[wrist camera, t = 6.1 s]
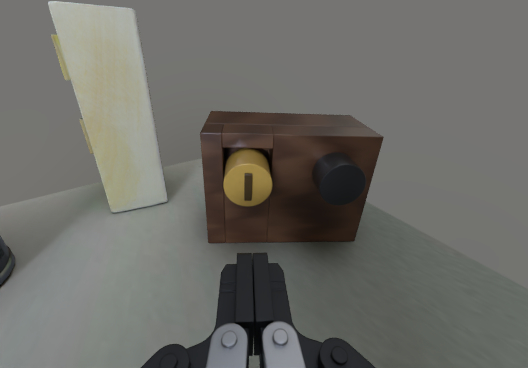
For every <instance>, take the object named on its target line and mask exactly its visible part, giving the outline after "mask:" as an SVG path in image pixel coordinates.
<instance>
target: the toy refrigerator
mask: <svg viewBox="0 0 528 368" xmlns="http://www.w3.org/2000/svg"><path fill="white" fill-rule="evenodd" d="M48 5H49V9H50V12H51V16H52V19H53V22H54V25H55V28H56V32H57V35H51V37H52V40H53V44H54V47H55V50H56V52H57V56H58V59H59V62H60V65H61V69H62V72H63V75H64V78H65V80H71V82H72V85H73V88H74V91H75V95H76V98H77V101H78V104H79V107H80V111H81V114H82V117H83V118H80V123H81V126H82V129H83V132H84V136H85V139H86V142H87V145H88V148H89V151H90V153H91V154H94V156H95V159H96V163H97V166H98V169H99V172H100V176H101V179H102V183H103V186H104V189H105V193H106V196H107V199H108V203H109V206H110V209H111V212H112V213H115V212H122V211H127V210H132V209H136V208H141V207H146V206H150V205H155V204H159V203H164V202H167V201H168V197H167V191H166V185H165V180H164V174H163V168H162V162H161V156H160V151H159V144H158V139H157V132H156V126H155V120H154V115H153V109H152V103H151V97H150V92H149V86H148V79H147V73H146V69H145V62H144V57H143V51H142V45H141V39H140V33H139V28H138V21H137V15H136V12H135V10H134V9H130V8H121V7H111V6H100V5H89V4H80V3H70V2H69V3H68V2H58V1H49V2H48Z"/></svg>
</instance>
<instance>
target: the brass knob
mask: <svg viewBox="0 0 528 368" xmlns="http://www.w3.org/2000/svg"><path fill="white" fill-rule="evenodd" d="M223 188H224V192H225V194H226V196H227V197H228V198H229V199H230V200H231V201H232V202H234V203H236V204H238V205H241V206H254V205H258V204H260V203H262V202H263V201H265V200H266V199H267V197H268V196H269V195H270V193H271V190H272V178H271V173H270V169H269V164H268V161H267V159H266V157H265V156H264V155H263V154H262V153H261V152H260V151H258V150H255V149H252V148H243V149H239V150H237V151H235V152H234V153H232V154H231V155H230V157H229V158H228V160H227V163H226V168H225V175H224V182H223Z"/></svg>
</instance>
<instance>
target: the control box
mask: <svg viewBox="0 0 528 368" xmlns="http://www.w3.org/2000/svg"><path fill="white" fill-rule="evenodd" d="M200 137H201V151H202V164H203V177H204V190H205V204H206V217H207V230H208V242H209V243H225V242H226V243H240V242H321V241H354V240H355V237H356V233H357V230H358V226H359V223H360V219H361V216H362V212H363V208H364V205H365V201H366V198H367V194H368V190H369V187H370V183H371V180H372V176H373V173H374V169H375V166H376V162H377V158H378V155H379V152H380V148H381V144H382V141H383V136H381V135H380V134H378V133H376V132H375V131H373V130H372V129H370V128H369V127H367V126H366V125H364V124H362V123H361V122H359V121H358V120H356V119H355V118H353V117H352V116H350V115H321V114H320V115H319V114H288V113H255V112H223V111H211V112H210V114H209V116H208V119H207V121H206V122H205V124H204V127H203V128H202V131H201V132H200ZM243 148H252V149H255V150H258V151H260V152H261V153H262V154H263V155H264V156H265V157H266V159H267V161H268V164H269V169H270V173H271V178H272V190H271V193H270V195H269V196H268V197H267V199H266V200H265V201H263V202H262V203H260V204H258V205H254V206H241V205H238V204H236V203H234V202H232V201H231V200H230V199H229V198H228V197H227V196H226V194H225V192H224V188H223V182H224V175H225V168H226V163H227V160H228V158H229V157H230V155H231V154H232V153H234V152H235V151H237V150H239V149H243Z"/></svg>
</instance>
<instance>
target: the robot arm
mask: <svg viewBox="0 0 528 368" xmlns="http://www.w3.org/2000/svg"><path fill="white" fill-rule="evenodd" d="M14 262H15V258H14V255H13V254H12V252H11V250H10V248H9V247H8V246H6V244H5V243H4V241H3V239H2V237H1V236H0V285H1V284H2V283H3V281H4V280H5V279H6V278H7V277H8V275H9V274H10V272H11V271H12V269H13V266H14ZM253 335H254V355H259V358H260V368H375V367H374V366H373V365H372V364H371V363H370V362H369V361H368V360H366V359H365V358H364V357H363V356H362V355H361V354H360V353H359V352H357V351H356V350H355V349H354V348H353V347H352V346H351V345H349V344H348V343H347V342H346V341H344V340H342V339H339V338H329V339H327V340H325V341H324V342H323V343H322V342H319V341H315V340H312V339H309V338H306V337H305V336H303V335H302V334H300V333H299V332H298V331H297V330H296V328H295V327H294V325H293V323H292V318H291V313H290V307H289V301H288V296H287V291H286V284H285V278H284V273H283V270H282V269H281V267H280V266H279V264H278V263H268V256H267V253H253V255H252V253H237V264H226V266H225V267H224V269H223V271H222V272H221V279H220V289H219V299H218V309H217V319H216V326H215V329H214V331H213V332H212V334H211V335H210V336H209V337H208V338H207V339H206V340H205V341H203V342H202V343H199V344H197V345H194V346H192V347H189V348H187V349H185V347H183V346H181V345H179V344H170V345H167V346H165V347H163V348H161V349H160V350H158V351H157V352H156V353H155V354H154V355H153V356H152V357H151V358H150V359H149V360H148V361H147V362H146V363H145V364H144V365H143V366H142V367H141V368H249V356H253Z"/></svg>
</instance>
